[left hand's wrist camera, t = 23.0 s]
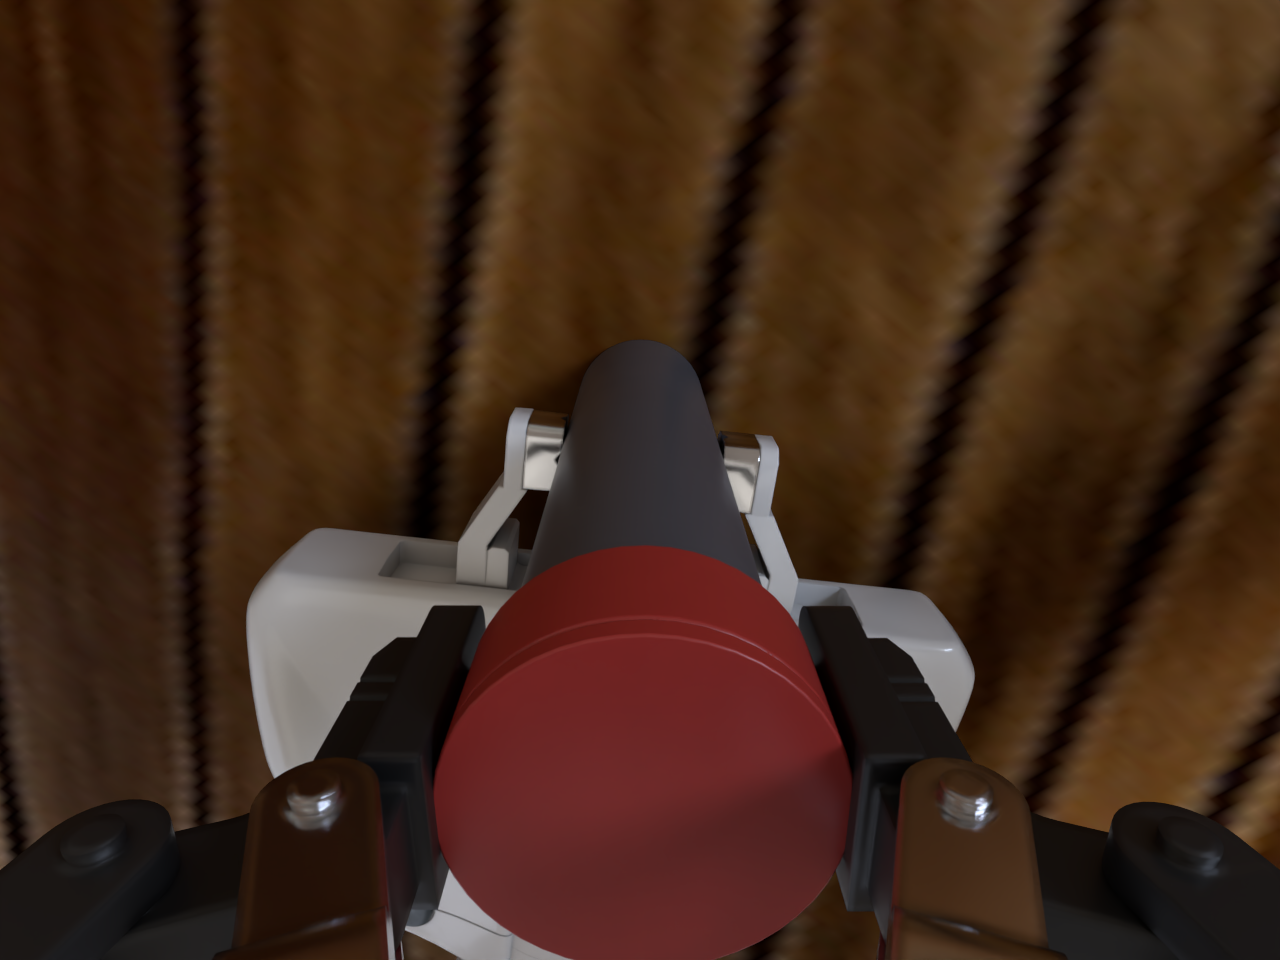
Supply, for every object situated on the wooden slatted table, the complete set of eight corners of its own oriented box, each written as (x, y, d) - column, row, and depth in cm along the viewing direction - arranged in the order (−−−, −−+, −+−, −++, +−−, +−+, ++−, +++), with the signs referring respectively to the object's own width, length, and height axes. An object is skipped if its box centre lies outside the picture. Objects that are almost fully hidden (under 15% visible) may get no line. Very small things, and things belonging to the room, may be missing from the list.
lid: (750, 491, 10) (779, 572, 8) (855, 777, 12) (903, 907, 10) (409, 613, 11) (353, 719, 9) (553, 869, 13) (535, 1010, 10)
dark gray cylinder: (608, 476, 28) (559, 938, 11) (558, 367, 27) (413, 700, 10) (719, 432, 28) (854, 848, 10) (674, 319, 26) (745, 579, 9)
